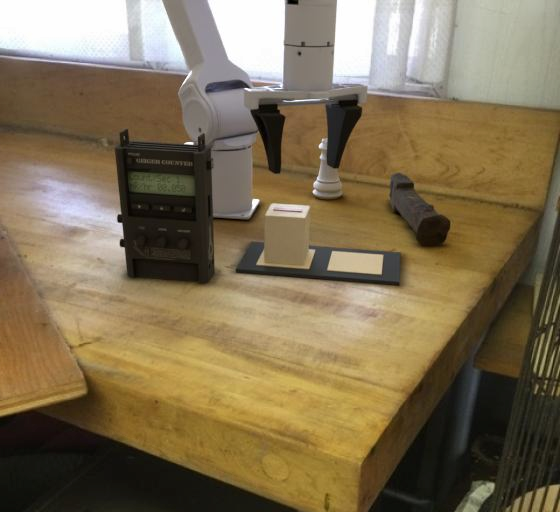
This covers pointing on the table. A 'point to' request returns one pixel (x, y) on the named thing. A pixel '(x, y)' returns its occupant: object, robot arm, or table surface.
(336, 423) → the table surface
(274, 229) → the slotted ballot box
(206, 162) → the geiger counter
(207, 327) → the table surface
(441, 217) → the hand tool
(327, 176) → the rook chess piece
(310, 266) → the word mat
